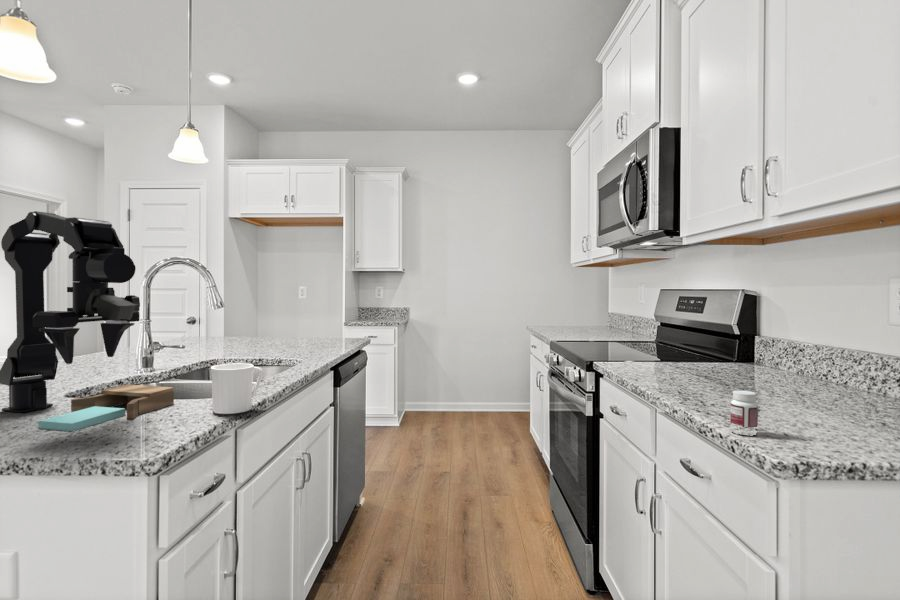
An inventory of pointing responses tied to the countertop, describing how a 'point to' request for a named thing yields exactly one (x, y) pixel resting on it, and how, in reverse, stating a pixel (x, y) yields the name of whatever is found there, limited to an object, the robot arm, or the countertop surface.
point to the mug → (233, 388)
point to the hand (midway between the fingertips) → (90, 360)
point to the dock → (129, 399)
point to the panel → (81, 418)
